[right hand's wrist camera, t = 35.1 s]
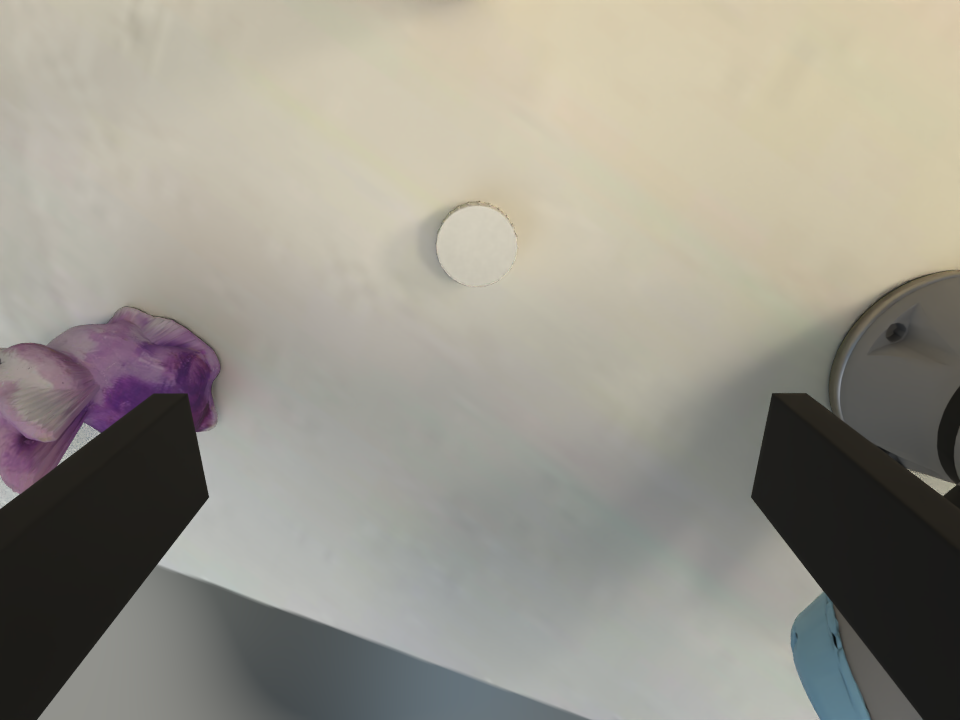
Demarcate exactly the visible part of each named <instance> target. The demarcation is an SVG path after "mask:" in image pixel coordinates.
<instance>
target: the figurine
mask: <svg viewBox="0 0 960 720" xmlns="http://www.w3.org/2000/svg"><path fill="white" fill-rule="evenodd" d="M219 372H220V363H219V360H218V358H217V356H216V354H215V352H214V351H213V349H212V348H211V347H209V346H208V345H207V344H206V343H204V342H203V341H202V340H201V339H199V338H198V337H197V336H196V335H194V334H193V333H192V332H190V331H189V330H188V329H187V328H185V327H183V326H182V325H180V324H178V323H176V322H175V321H174V320H170V319H165V318H160V317H153V316H151V315H148V314H146V313H144V312H142V311H139V310H138V309H135V308H132V307H123V308H122V309H119V310H118V311H117V312H116V313H115V315H114V316H113V318H112V319H111V320H110V321H109V322H108V323H107V324H91V325H80V326H76V327H72V328H70V329H68V330H67V331H65V332H63V333H62V334H60V335H59V336H57V337H56V338H54V339H53V340H52V341H51V342H50V343H49V344H48V345H46V346H45V345H41V344H36V343H21V344H17V345H14V346H11V347H9V348H0V475H1V477H2V480H3V481H4V483H5V484H6V485H7V486H8V487H10V488H11V489H12V491H13V492H17V493H19V494H21V493H22V492H24V491H25V490H26V489H28V488H29V487H30V486H32V485H33V484H34V483H36V482H37V481H38V480H40V479H41V478H42V477H43V476H45V475H46V474H47V473H49V472H50V471H51V470H53V469H54V468H55V467H57V465H58V463H59V462H60V460H61V458H62V457H63V455H64V454H65V452H66V450H67V449H68V447H69V445H70V444H71V442H72V440H73V439H74V437H75V435H76V434H77V432H78V430H79V429H80V427H81V425H82V424H83V422H84V423H86V424H88V425H90V426H91V427H93V428H94V429H96V430H98V431H99V432H101V433H102V432H103V431H104V430H106V429H107V428H108V427H110V426H111V425H112V424H114V423H115V422H116V421H118V420H119V419H120V418H122V417H123V416H124V415H126V414H127V413H128V412H130V411H131V410H132V409H134V408H135V407H136V406H138V405H139V404H140V403H142V402H143V401H144V400H146V399H147V398H148V397H149V396H151V395H152V394H153V393H188V397H189V402H190V407H191V412H192V417H193V422H194V426H195V431H196V432H201V431H209V430H211V429H213V428H214V427H215V426H216V425H217V422H218V414H217V411H216V408H215V405H214V401H213V398H212V394H211V387H212V383H213V381H214V379H215V378H216V377H217V375H218V374H219Z"/></svg>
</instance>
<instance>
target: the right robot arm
mask: <svg viewBox="0 0 960 720" xmlns="http://www.w3.org/2000/svg"><path fill="white" fill-rule="evenodd" d="M829 398H830V404H831V408H832V411H833V413H832V412H830V411H829V410H828V409H826V408H825V407H824V406H822V405H821V404H820V403H818V402H817V401H816V400H814V399H813V398H812V397H811V396H809V395H808V394H807V393H772V397H771V402H770V407H769V412H768V417H767V422H766V426H765V431H764V436H763V441H762V446H761V451H760V456H759V461H758V465H757V470H756V475H755V480H754V485H753V490H752V495H751V498H752V499H753V501H754V502H755V503H756V504H757V506H758V507H759V508H760V510H761V511H762V512H763V513H764V515H765V516H766V517H767V519H768V520H769V521H770V523H771V524H772V525H773V526H774V528H775V529H776V530H777V532H778V533H779V534H780V535H781V537H782V538H783V539H784V541H785V542H786V543H787V544H788V546H789V547H790V548H791V550H792V551H793V552H794V554H795V555H796V556H797V557H798V559H799V560H800V561H801V563H802V564H803V565H804V566H805V568H806V569H807V570H808V572H809V573H810V574H811V576H812V577H813V578H814V579H815V581H816V582H817V583H818V585H819V586H820V587H821V588H822V590H823V591H824V592H823V593H822V594H821V595H820V596H818V597H817V598H816V599H815V600H814V601H813V602H812V603H811V604H810V605H809V606H808V607H807V608H806V609H804V610H803V611H802V612H801V613H800V614H799V615H798V616H797V618H796V619H795V621H794V623H793V626H792V630H791V648H792V651H793V657H794V663H795V666H796V669H797V672H798V675H799V677H800V680H801V682H802V685H803V687H804V689H805V691H806V693H807V695H808V697H809V699H810V701H811V703H812V705H813V707H814V709H815V711H816V713H817V715H818V716H819V718H820V720H960V270H956V271H946V272H940V273H935V274H931V275H928V276H924V277H921V278H918V279H916V280H913V281H911V282H909V283H907V284H905V285H903V286H901V287H899V288H897V289H895V290H894V291H892V292H890V293H889V294H887V295H886V296H884V297H883V298H881V299H880V300H879V301H878V302H876V303H875V304H874V305H873V306H871V307H870V308H869V309H868V310H867V311H866V312H865V313H864V314H863V315H862V316H861V317H860V318H859V320H858V321H857V322H856V323H855V324H854V326H853V327H852V328H851V329H850V331H849V332H848V334H847V335H846V337H845V338H844V340H843V342H842V344H841V346H840V347H839V349H838V352H837V354H836V356H835V359H834V362H833V365H832V369H831V374H830V380H829ZM907 469H910V470H907ZM911 470H913V472H914V471H916V472H919V473H920V474H921V473H923V474H926V475H929V476H932V477H935V478H939V479H942V480H945V481H948V482H952V483H955V484H956V486H955V487H954V488H953V489H951V490H950V491H949V492H948V493H946V494H945V495H944V496H942V495H940V494H939V493H938V492H936V491H935V490H934V489H932V488H931V487H930V486H928V485H927V484H926V483H924V482H923V481H922V480H920V479H919V478H918V477H917V476H915V475H914V474H913V473H911V472H910V471H911ZM208 498H209V495H208V490H207V485H206V480H205V475H204V470H203V466H202V461H201V456H200V451H199V446H198V441H197V436H196V431H195V426H194V422H193V417H192V412H191V407H190V402H189V397H188V393H153V394H152V395H151V396H149V397H148V398H147V399H146V400H144V401H143V402H142V403H140V404H139V405H138V406H136V407H135V408H134V409H132V410H131V411H130V412H128V413H127V414H126V415H124V416H123V417H122V418H120V419H119V420H118V421H116V422H115V423H114V424H112V425H111V426H110V427H108V428H107V429H106V430H104V431H103V432H102V433H100V434H99V435H98V436H96V437H95V438H94V439H93V440H91V441H90V442H89V443H87V444H86V445H85V446H83V447H82V448H81V449H79V450H78V451H77V452H75V453H74V454H73V455H71V456H70V457H69V458H67V459H66V460H65V461H63V462H62V463H61V464H59V465H58V466H57V467H55V468H54V469H53V470H51V471H50V472H49V473H47V474H46V475H45V476H43V477H42V478H41V479H40V480H38V481H37V482H36V483H34V484H33V485H32V486H30V487H29V488H28V489H26V490H25V491H24V492H22V493H21V494H20V495H18V496H17V497H16V498H14V499H13V500H12V501H10V502H9V503H8V504H6V505H5V506H4V507H2V508H1V509H0V720H37V719H38V718H39V716H40V715H41V714H42V713H43V711H44V710H45V709H46V707H47V706H48V705H49V703H50V702H51V701H52V700H53V698H54V697H55V696H56V694H57V693H58V692H59V691H60V689H61V688H62V687H63V685H64V684H65V683H66V681H67V680H68V679H69V678H70V676H71V675H72V674H73V672H74V671H75V670H76V669H77V667H78V666H79V665H80V663H81V662H82V661H83V659H84V658H85V657H86V656H87V654H88V653H89V652H90V650H91V649H92V648H93V647H94V645H95V644H96V643H97V641H98V640H99V639H100V638H101V636H102V635H103V634H104V632H105V631H106V630H107V628H108V627H109V626H110V625H111V623H112V622H113V621H114V619H115V618H116V617H117V616H118V614H119V613H120V612H121V610H122V609H123V608H124V607H125V605H126V604H127V603H128V601H129V600H130V599H131V597H132V596H133V595H134V594H135V592H136V591H137V590H138V588H139V587H140V586H141V585H142V583H143V582H144V581H145V579H146V578H147V577H148V576H149V574H150V573H151V572H152V570H153V569H154V568H155V566H156V565H157V564H158V563H159V561H160V560H161V559H162V557H163V556H164V555H165V554H166V552H167V551H168V550H169V548H170V547H171V546H172V544H173V543H174V542H175V541H176V539H177V538H178V537H179V535H180V534H181V533H182V532H183V530H184V529H185V528H186V526H187V525H188V524H189V523H190V521H191V520H192V519H193V517H194V516H195V515H196V513H197V512H198V511H199V510H200V508H201V507H202V506H203V504H204V503H205V502H206V501H207V499H208Z"/></svg>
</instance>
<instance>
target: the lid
mask: <svg viewBox="0 0 960 720" xmlns="http://www.w3.org/2000/svg"><path fill="white" fill-rule="evenodd" d="M437 234H438V237H437V241H436V249H437V256H438V259H439V262H440V264H441V266H442V268H443V269H444V271H445V272H446V273H447V274H448V275H449V276H450V277H451V278H452V279H454V280H455V281H457V282H459V283H461V284H463V285H466V286H471V287H483V286H487V285H491V284H493V283H495V282H497V281H499V280H500V279H502V278H503V277H504V276H505V275H506V274H507V273H508V272H509V270H510V269H511V267H512V266H513V263H514V261H515V260H516V254H517V249H518V247H517V235H516V233H515V232H514V226H513V224H511V222H510V221H509V218H508V216H507V215H505V214H504V213H503V212H502V211H500V208H496V207H494V206H492V205H491V204H490V203H489V204H486V203H481V202H480V201H479V202H473V203H470V202H468V204H464V205H462V206H460V205H459V206H458V208H456V209H455V210H453V211H452V212H451V211H450V213H449V215H448V216H447V218H446V219H445V220H443V222H442V226H441V228H440V229H439V231H438V233H437Z"/></svg>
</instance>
